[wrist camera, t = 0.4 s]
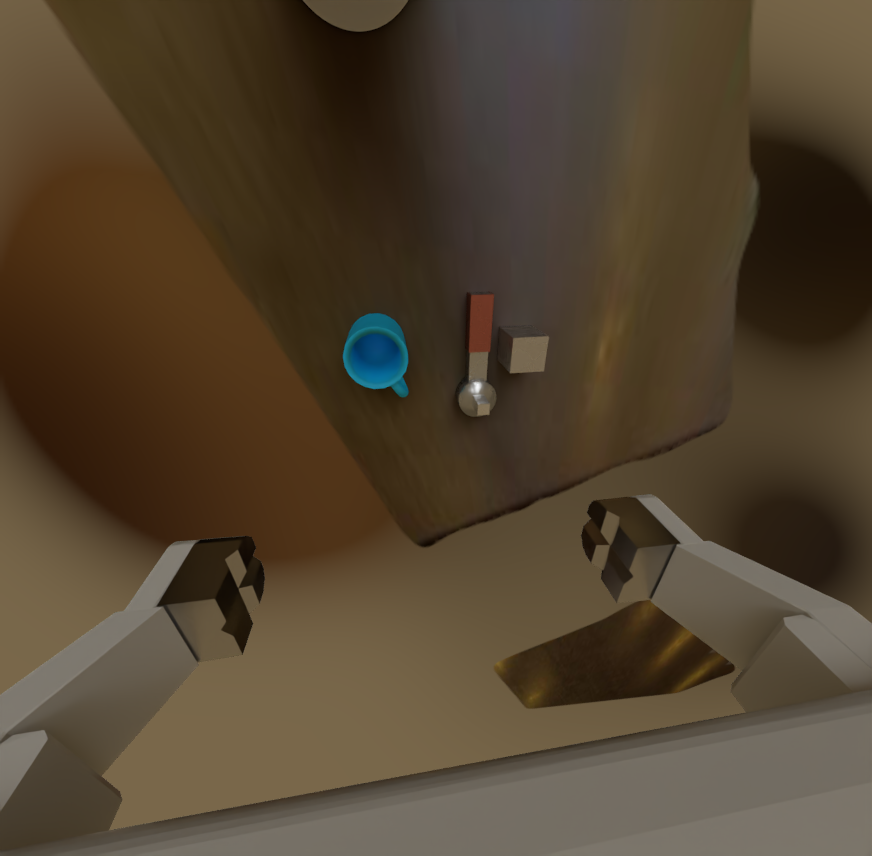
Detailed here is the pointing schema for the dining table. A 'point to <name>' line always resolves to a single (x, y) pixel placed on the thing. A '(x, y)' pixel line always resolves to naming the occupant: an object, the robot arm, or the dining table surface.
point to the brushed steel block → (522, 348)
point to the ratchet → (477, 357)
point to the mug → (377, 353)
